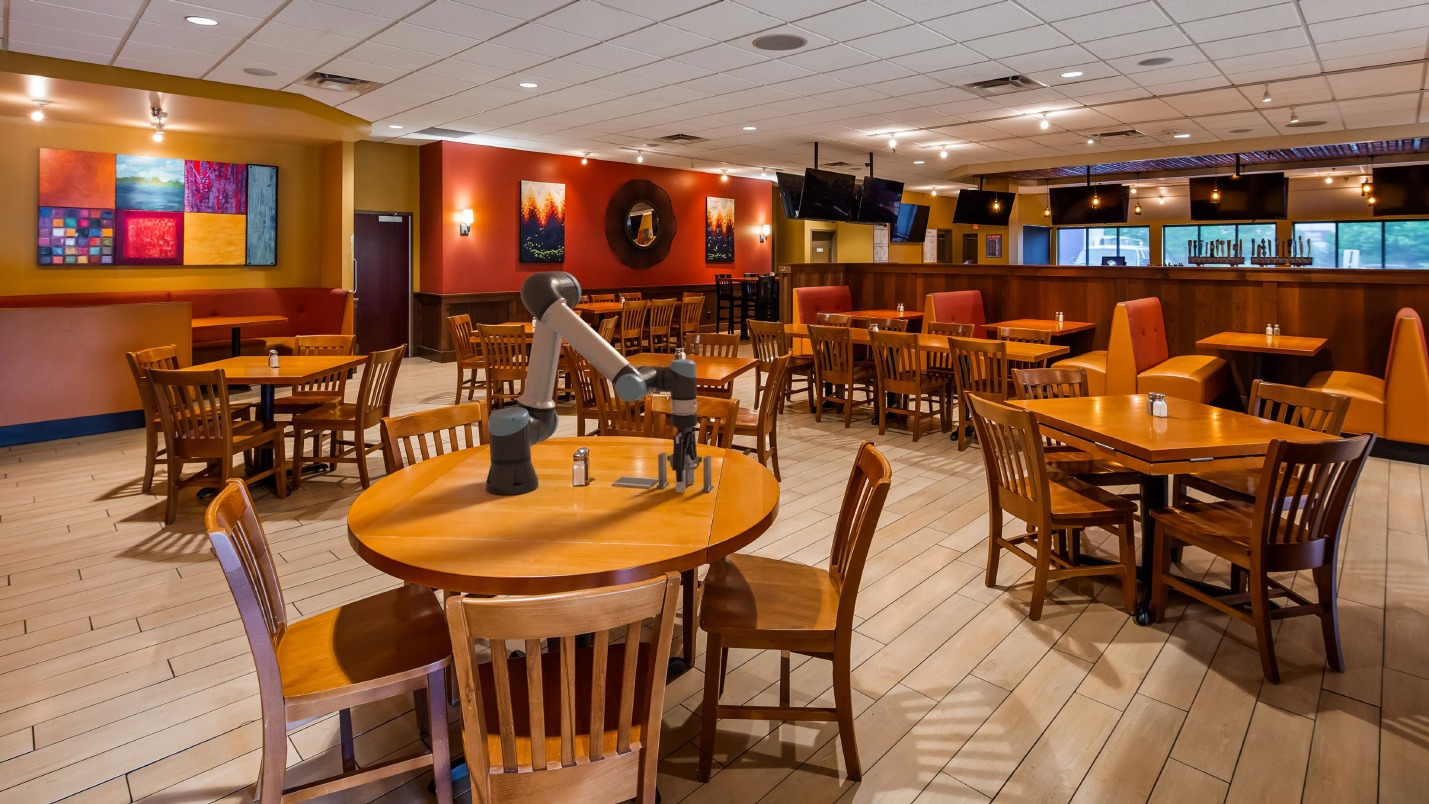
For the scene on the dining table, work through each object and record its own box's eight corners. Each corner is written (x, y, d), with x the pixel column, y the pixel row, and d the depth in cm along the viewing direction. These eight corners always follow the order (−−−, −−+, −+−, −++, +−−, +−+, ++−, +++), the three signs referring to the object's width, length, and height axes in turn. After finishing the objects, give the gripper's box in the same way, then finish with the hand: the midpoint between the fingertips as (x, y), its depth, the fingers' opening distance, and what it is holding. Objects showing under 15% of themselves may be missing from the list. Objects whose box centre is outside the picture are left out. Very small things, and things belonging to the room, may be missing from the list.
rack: (656, 488, 231) (655, 455, 229) (661, 483, 236) (661, 451, 234) (709, 492, 226) (708, 459, 224) (713, 487, 231) (713, 455, 229)
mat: (612, 485, 234) (612, 483, 234) (622, 478, 242) (622, 476, 242) (649, 488, 231) (649, 486, 231) (659, 480, 238) (659, 478, 238)
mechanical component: (700, 490, 228) (700, 457, 227) (667, 488, 231) (666, 455, 229) (702, 487, 231) (702, 454, 229) (669, 485, 233) (669, 453, 231)
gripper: (685, 420, 216) (686, 498, 220) (706, 406, 236) (707, 478, 240) (659, 419, 218) (661, 497, 222) (683, 405, 238) (684, 476, 242)
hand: (685, 487), depth 231 cm, fingers open, 8 cm apart
